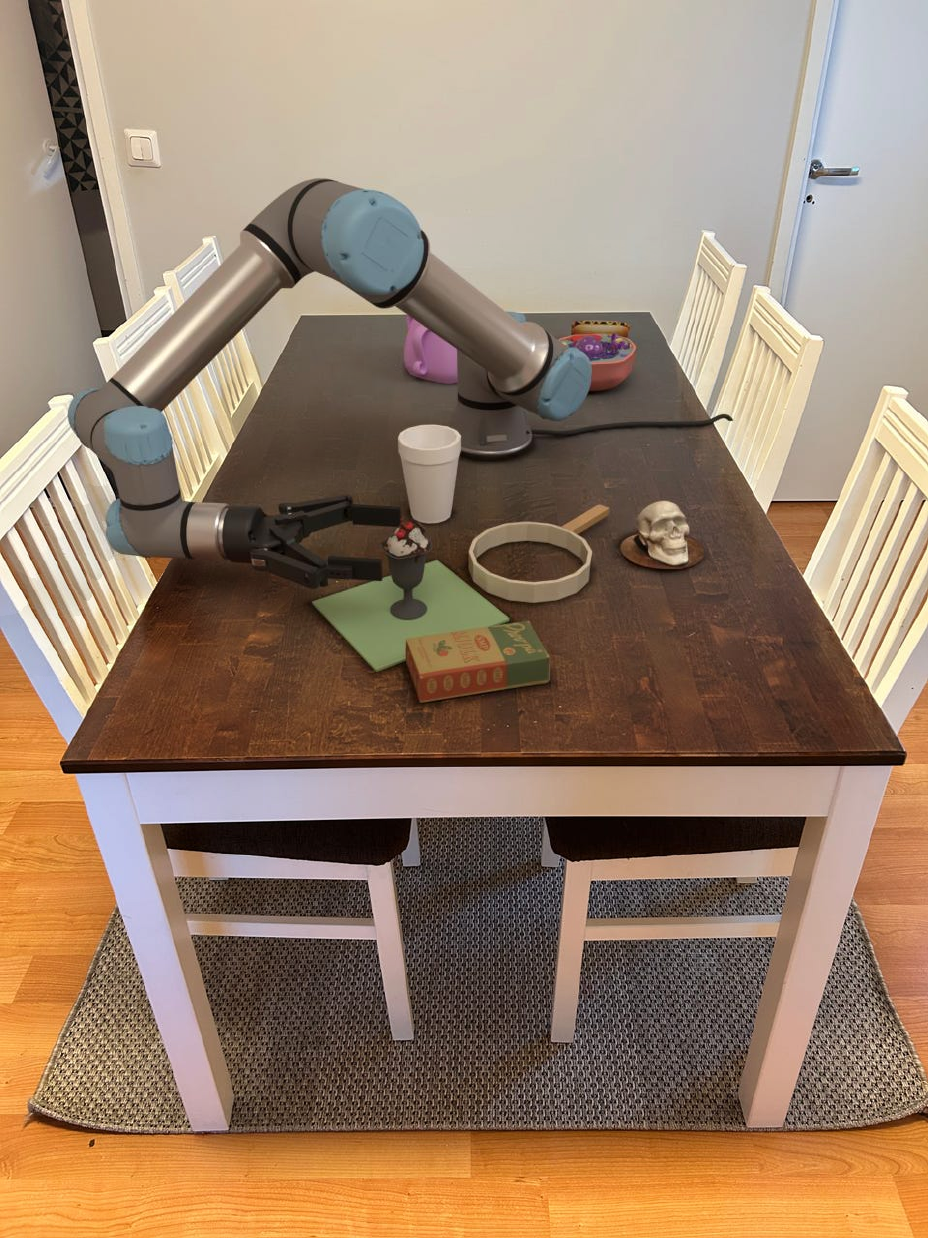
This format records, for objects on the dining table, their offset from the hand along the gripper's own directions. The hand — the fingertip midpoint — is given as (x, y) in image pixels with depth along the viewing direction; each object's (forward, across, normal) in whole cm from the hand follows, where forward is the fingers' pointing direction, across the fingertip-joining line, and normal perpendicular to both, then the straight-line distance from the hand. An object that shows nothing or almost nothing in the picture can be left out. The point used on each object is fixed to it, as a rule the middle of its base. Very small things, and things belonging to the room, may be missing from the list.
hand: (391, 542), depth 118 cm
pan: (+21, -16, -11) cm, 28 cm away
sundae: (+2, 0, -10) cm, 11 cm away
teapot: (-3, -92, -11) cm, 93 cm away
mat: (+2, 0, -11) cm, 11 cm away
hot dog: (+28, -114, -11) cm, 118 cm away
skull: (+36, -20, -11) cm, 43 cm away
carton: (+12, +12, -11) cm, 20 cm away
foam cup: (+1, -28, -11) cm, 30 cm away
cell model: (+26, -86, -11) cm, 91 cm away
